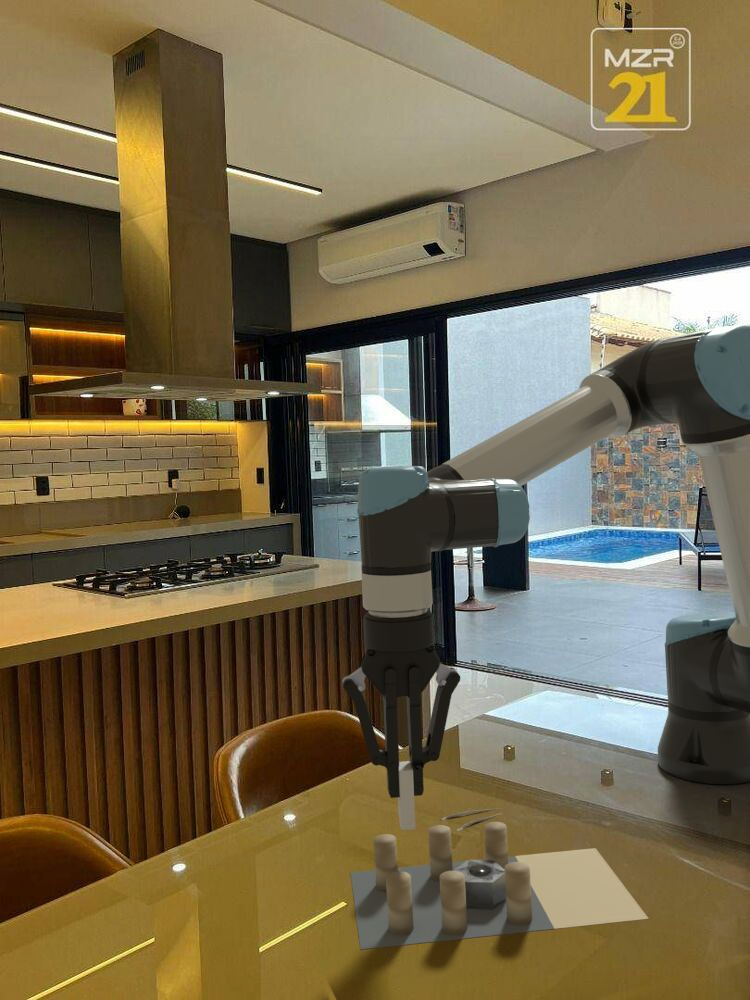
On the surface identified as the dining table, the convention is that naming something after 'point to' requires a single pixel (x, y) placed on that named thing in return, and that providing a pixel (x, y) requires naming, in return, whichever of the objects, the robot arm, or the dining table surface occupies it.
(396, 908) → the pegs
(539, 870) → the mat
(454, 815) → the metal tweezers
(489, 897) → the nut
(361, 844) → the dining table surface
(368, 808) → the dining table surface
